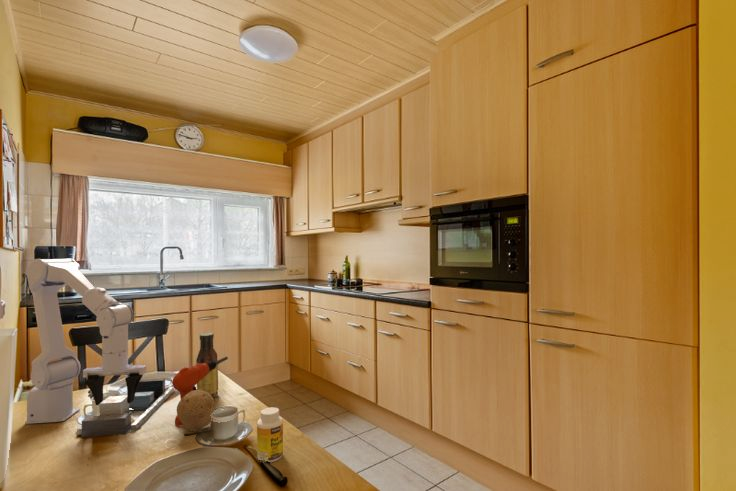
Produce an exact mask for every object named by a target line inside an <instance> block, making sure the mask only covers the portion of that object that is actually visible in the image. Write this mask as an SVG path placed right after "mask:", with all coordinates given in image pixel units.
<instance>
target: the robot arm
mask: <svg viewBox="0 0 736 491" xmlns="http://www.w3.org/2000/svg"><path fill="white" fill-rule="evenodd" d="M25 271H26V276H27V282H28V288H29V291H31V294H32V300H33V306H34V313H35V317H36V324H37V330H38V337H39V338H38V339H39V342H40V350H41V352H40V354H39V355H38V356H36V357H35V358H34V359H33V360H32V362H31V363H30V364H31V372H30V381H31V384H32V385H33V386H34V387H32V388H31V389H30V391H28V394H27V397H26V421H25V422H24V424H25V425H29V424H30V425H31V424H32V425H33V424H43V423H46V424H47V423H56V422H57V423H58V422H59V423H60V422H64V421H66V420H67V419H69V418H70V417H72V416H73V415H74V414H76V413H78V412H79V411H80V410H81V408H80V407H79V408H76V407H75V408H73V407H74V405H73V404H74V400H73V399H74V398H73V396H74V395H73V394H74V392H73V391H74V385H73V384H74V382H76V378H77V377H79V375H80V373H81V369H82V368H81V363H80V361H79V359H78V357H77V353H76V351H75V350H73V349H71V348H69V347H67V346H66V340H65V339H66V338H65V335H64V328H63V322H62V317H61V309H60V304H59V298H58V297H59V296H58V292H59V291H60V290H61V289H62V288H64V287H66V286H68V287H70V288H71V289H72V290H74V291H75V292H76V293H77V294H79V295H80V296H82V298H81V303H82V305H84V306H85V307H86V308H87V309H88V310H90V311H91V313H92V314H94V315H95V316H96V318H95V319H96V324H97V325H98V328H99V334H100V336H101V337H102V338H101V340H102V341H101V366H96V367H87V368H85V369H83V370H82V378H84V379H85V378H87V379H85V380H84V384H85V385H86V386H87V388H88V389H89V391H90V392H91V394H92V396H93V400H94V403H95V406H99V404H100V403H101V402H102V401H104V382H105V377H106V376H108V377H109V376H125V375H127V377H125V378H124V380H125V383H126V391H127V402H128V403H131V402H132V401H134V396H135V392H136V389H137V386H138V384H139V382H140V380H142V378H143V376H144V375H145V374H146V373H147V365H145V364H144V365H139V364H129V325H131V323H132V322H133V320H134V311H133V308H132V307H131V306H130V305H129V303H122V302H119V301H117V300H116V299H115V298H114V297H113V296H112V295H110V294H109V293H108V292H107V289H105V287H104V288H103V287H95V285H93V284H92V283H91V282H90V280H88V278H87V277H86V276H85V275H84V274H83V273H82V272H81V265H80V264H79V263H78V262H77V261H76V260H75V259H74V258H71V257H69V258H52V259H51V258H42V259H41V258H35V259H33V260H32V261H30V263H29V265H28V267H27V268H26V270H25ZM54 360H55V361H54Z"/></svg>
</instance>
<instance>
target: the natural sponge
mask: <svg viewBox="0 0 736 491" xmlns="http://www.w3.org/2000/svg"><path fill="white" fill-rule="evenodd" d="M215 406H216V403H215V400H214V398H212V396H211V395H210V394H209V393H207V392H205V391H202V390H194V391H191V392H189V393H188V394H186V395H185V396H184V397H183V398H182V399H181V398H180V400H179V402H178V404H177V405H176V414H177V415H178V418H179V420H180V421H181V423H182V424H183V426H182V427H184V428H186V429H187V430H188V431H191V432H198V431H201V430H202V429H204V428H205V427H207V426H209V425H210V424H211V423H212V421H211V416H210V415H211V413H212V412H213V411H215ZM213 413H214V412H213ZM177 415H176V416H177Z"/></svg>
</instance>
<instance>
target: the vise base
mask: <svg viewBox="0 0 736 491" xmlns="http://www.w3.org/2000/svg"><path fill="white" fill-rule="evenodd" d="M174 389H175V388H174V387H173V386H169V387H168V388H167V390H166V389H165V392H164V393H163V394H162V395H161V396H160V397H157V399H156V400H154V403H153V404H152V405H151V406H150V407H149V408H148V409H145V410H144V412H143V413H142V414H141V415H140V416H139V417H138V418H137V419H136V420H134V422H132V413H131V412H129V413H125V414H111V415H97V416H95V415H88V416H87V417H85V418H84V419H82V420H81V426H79V427H78V428H77V431H76V435H77V436H81V438H93V437H95V438H96V437H103V436H106V437H107V436H108V437H109V436H117V435H120V436H121V435H126V434H128V433H129V431H131V432H136V431H138V429H139V428H140V427H141V426H142V425H143V424H144V423H145V422H146V421H147V420H148V419H149V418H150V417H151V416H152V415H153V413H154V412H156V411H157V410H158V409H159V408H160V407H161V405H163V403H164V402H165V401H166V400H167V399H168V398H169V397H170V396H171V395H172V394H173V393H174V392H175V390H174ZM124 393H127V390H126V391H125V392H124Z"/></svg>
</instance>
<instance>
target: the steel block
mask: <svg viewBox="0 0 736 491" xmlns="http://www.w3.org/2000/svg"><path fill="white" fill-rule="evenodd" d="M98 406H99V410H98V411H99V412H98V413H99V415H111V414H125V413H130V411H129V403H128V402H127V395H123V396H115V395H112V396H111V395H109V396H107V398H105V399H103V401H102V402H101V403H100V404H99V405H98Z"/></svg>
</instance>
